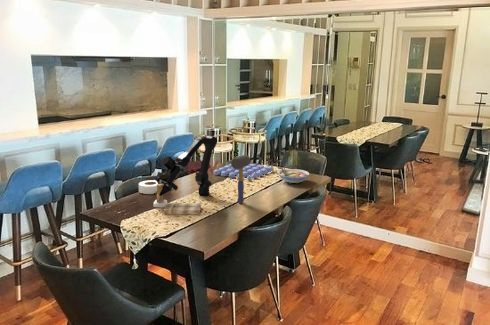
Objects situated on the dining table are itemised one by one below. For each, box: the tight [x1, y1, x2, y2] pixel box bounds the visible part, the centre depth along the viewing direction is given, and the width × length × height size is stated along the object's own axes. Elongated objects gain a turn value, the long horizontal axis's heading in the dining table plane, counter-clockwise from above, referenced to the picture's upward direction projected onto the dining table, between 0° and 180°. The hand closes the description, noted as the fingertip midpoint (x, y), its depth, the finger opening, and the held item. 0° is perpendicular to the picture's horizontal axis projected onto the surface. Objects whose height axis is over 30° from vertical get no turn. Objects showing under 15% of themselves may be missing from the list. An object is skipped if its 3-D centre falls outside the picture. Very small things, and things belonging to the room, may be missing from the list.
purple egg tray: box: [212, 163, 273, 181], centre depth 318 cm, size 35×34×5 cm
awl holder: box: [152, 199, 168, 208], centre depth 243 cm, size 7×7×2 cm
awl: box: [156, 184, 165, 203], centre depth 242 cm, size 4×4×13 cm
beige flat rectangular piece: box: [163, 202, 202, 215], centre depth 234 cm, size 20×12×3 cm, turn 91°
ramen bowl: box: [277, 167, 310, 184], centre depth 293 cm, size 25×23×8 cm
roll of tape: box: [138, 179, 158, 195], centre depth 272 cm, size 16×16×6 cm
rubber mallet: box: [230, 154, 251, 204], centre depth 245 cm, size 12×8×30 cm, turn 146°
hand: (157, 194), depth 241 cm, fingers closed on awl, 4 cm apart
